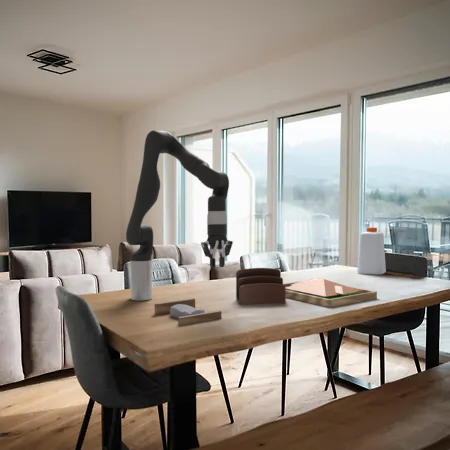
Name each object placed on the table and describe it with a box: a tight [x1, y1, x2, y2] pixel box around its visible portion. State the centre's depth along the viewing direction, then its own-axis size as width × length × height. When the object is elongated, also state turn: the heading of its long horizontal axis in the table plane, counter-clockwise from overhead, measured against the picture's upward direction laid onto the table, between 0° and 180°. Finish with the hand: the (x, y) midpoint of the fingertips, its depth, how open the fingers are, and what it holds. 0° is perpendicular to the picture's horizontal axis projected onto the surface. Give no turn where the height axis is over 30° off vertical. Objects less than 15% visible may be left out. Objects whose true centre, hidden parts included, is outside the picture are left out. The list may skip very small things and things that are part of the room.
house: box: [285, 277, 360, 299], centre depth 203 cm, size 23×33×8 cm
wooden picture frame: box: [283, 280, 378, 308], centre depth 203 cm, size 40×30×3 cm
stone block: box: [169, 304, 206, 319], centre depth 164 cm, size 12×5×10 cm
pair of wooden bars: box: [154, 297, 222, 326], centre depth 164 cm, size 20×17×4 cm
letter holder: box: [235, 267, 287, 305], centre depth 190 cm, size 10×20×14 cm, turn 96°
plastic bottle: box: [356, 226, 387, 276], centre depth 271 cm, size 15×15×28 cm
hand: (217, 267), depth 171 cm, fingers open, 3 cm apart
